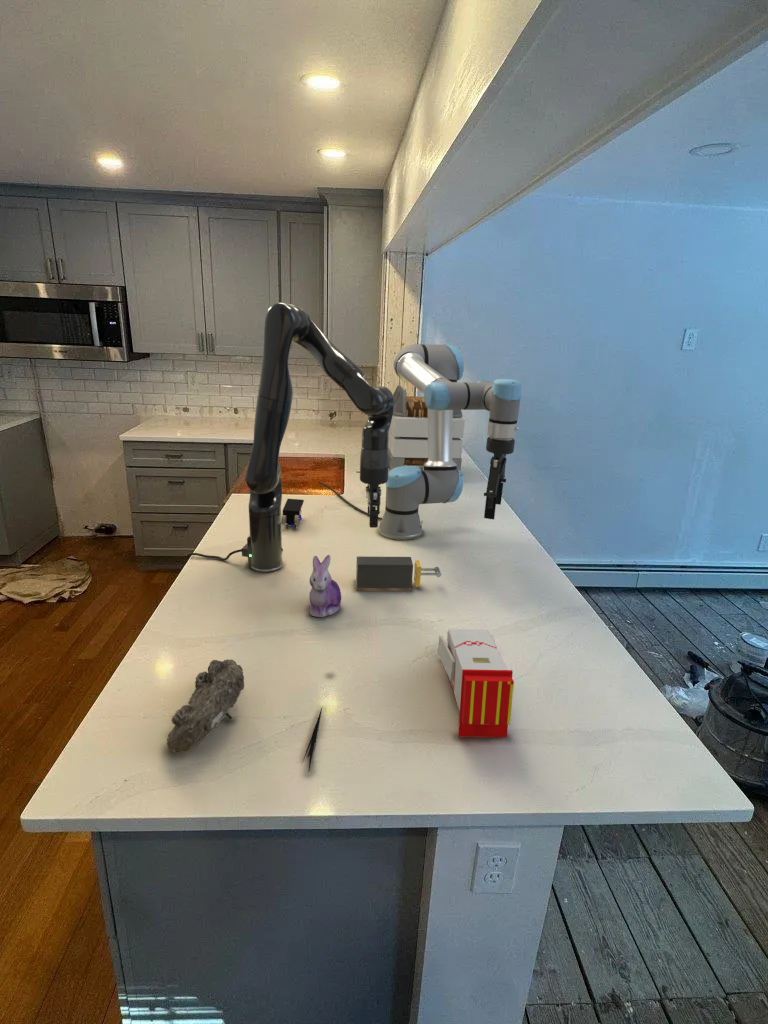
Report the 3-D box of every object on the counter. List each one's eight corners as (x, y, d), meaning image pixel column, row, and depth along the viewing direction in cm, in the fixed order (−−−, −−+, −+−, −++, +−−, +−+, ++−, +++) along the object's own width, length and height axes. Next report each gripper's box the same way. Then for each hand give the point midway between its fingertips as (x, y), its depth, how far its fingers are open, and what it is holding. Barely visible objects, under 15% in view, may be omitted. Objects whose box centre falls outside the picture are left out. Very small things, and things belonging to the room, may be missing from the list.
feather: (331, 679, 122) (336, 673, 122) (307, 777, 96) (313, 769, 95) (324, 675, 122) (329, 669, 121) (298, 772, 95) (304, 764, 95)
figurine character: (300, 535, 198) (304, 515, 212) (299, 515, 195) (304, 497, 208) (280, 534, 198) (286, 515, 211) (279, 515, 195) (286, 496, 208)
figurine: (314, 622, 141) (314, 568, 136) (300, 603, 150) (300, 551, 145) (349, 614, 146) (350, 561, 141) (333, 597, 154) (334, 546, 149)
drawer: (437, 580, 165) (439, 560, 163) (440, 587, 161) (442, 566, 159) (367, 579, 163) (368, 560, 161) (368, 586, 159) (369, 566, 157)
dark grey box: (409, 581, 165) (410, 556, 163) (411, 590, 160) (413, 564, 157) (355, 581, 164) (356, 556, 161) (356, 590, 159) (357, 564, 156)
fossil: (192, 660, 117) (244, 628, 112) (224, 691, 120) (276, 661, 115) (142, 746, 98) (202, 712, 93) (182, 779, 101) (242, 748, 96)
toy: (488, 613, 130) (523, 677, 101) (484, 667, 133) (517, 744, 104) (435, 612, 130) (455, 676, 101) (432, 666, 133) (451, 743, 103)
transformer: (382, 463, 289) (386, 382, 275) (445, 464, 293) (451, 384, 279) (390, 482, 257) (394, 392, 243) (460, 483, 261) (468, 394, 247)
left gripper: (391, 471, 143) (388, 531, 149) (386, 457, 157) (384, 512, 162) (361, 471, 143) (359, 531, 148) (359, 457, 156) (357, 512, 161)
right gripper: (509, 448, 142) (500, 527, 149) (519, 430, 165) (511, 499, 172) (479, 445, 144) (471, 523, 152) (493, 428, 167) (486, 496, 174)
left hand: (372, 521), depth 155 cm, fingers open, 8 cm apart
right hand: (492, 510), depth 162 cm, fingers open, 13 cm apart
